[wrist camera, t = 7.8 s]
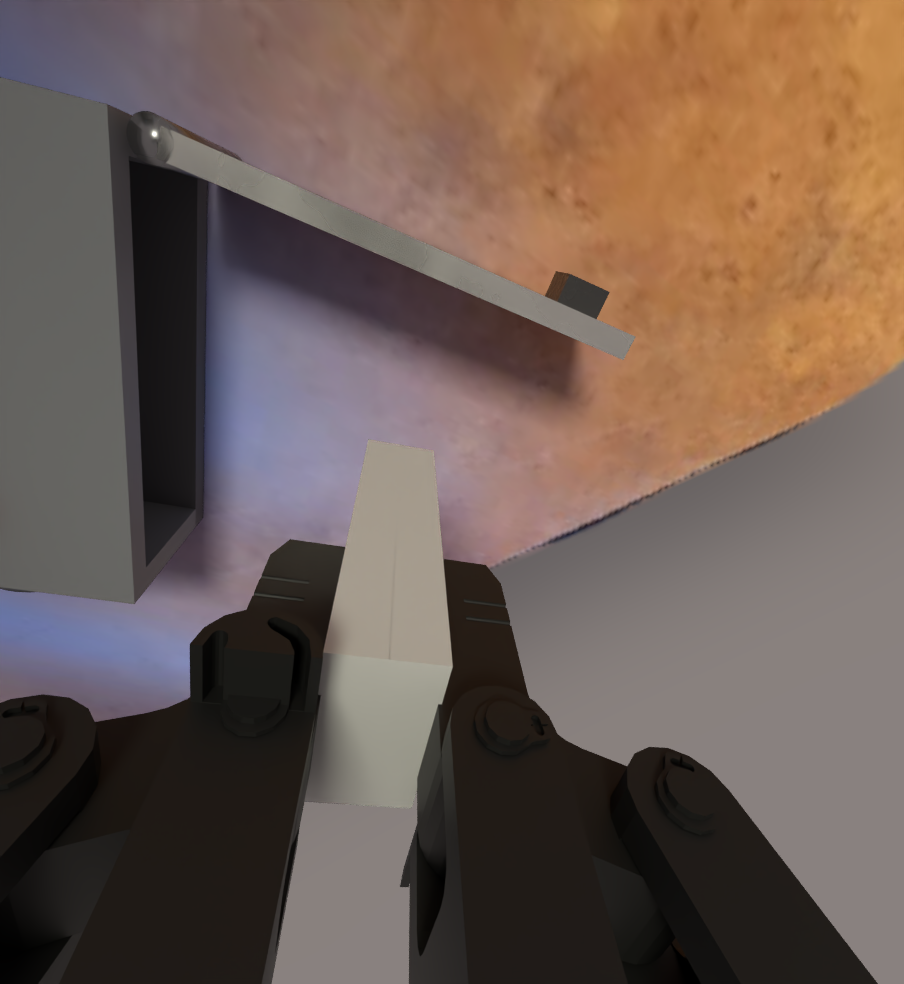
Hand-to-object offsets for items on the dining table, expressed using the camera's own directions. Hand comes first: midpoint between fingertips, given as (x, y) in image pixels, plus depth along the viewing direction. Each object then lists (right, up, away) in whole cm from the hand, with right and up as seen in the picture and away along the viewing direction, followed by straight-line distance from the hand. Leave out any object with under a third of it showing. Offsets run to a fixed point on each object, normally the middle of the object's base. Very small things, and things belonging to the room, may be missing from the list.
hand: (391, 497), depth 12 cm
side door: (0, +10, +9) cm, 14 cm away
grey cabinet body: (-14, +7, +10) cm, 18 cm away
